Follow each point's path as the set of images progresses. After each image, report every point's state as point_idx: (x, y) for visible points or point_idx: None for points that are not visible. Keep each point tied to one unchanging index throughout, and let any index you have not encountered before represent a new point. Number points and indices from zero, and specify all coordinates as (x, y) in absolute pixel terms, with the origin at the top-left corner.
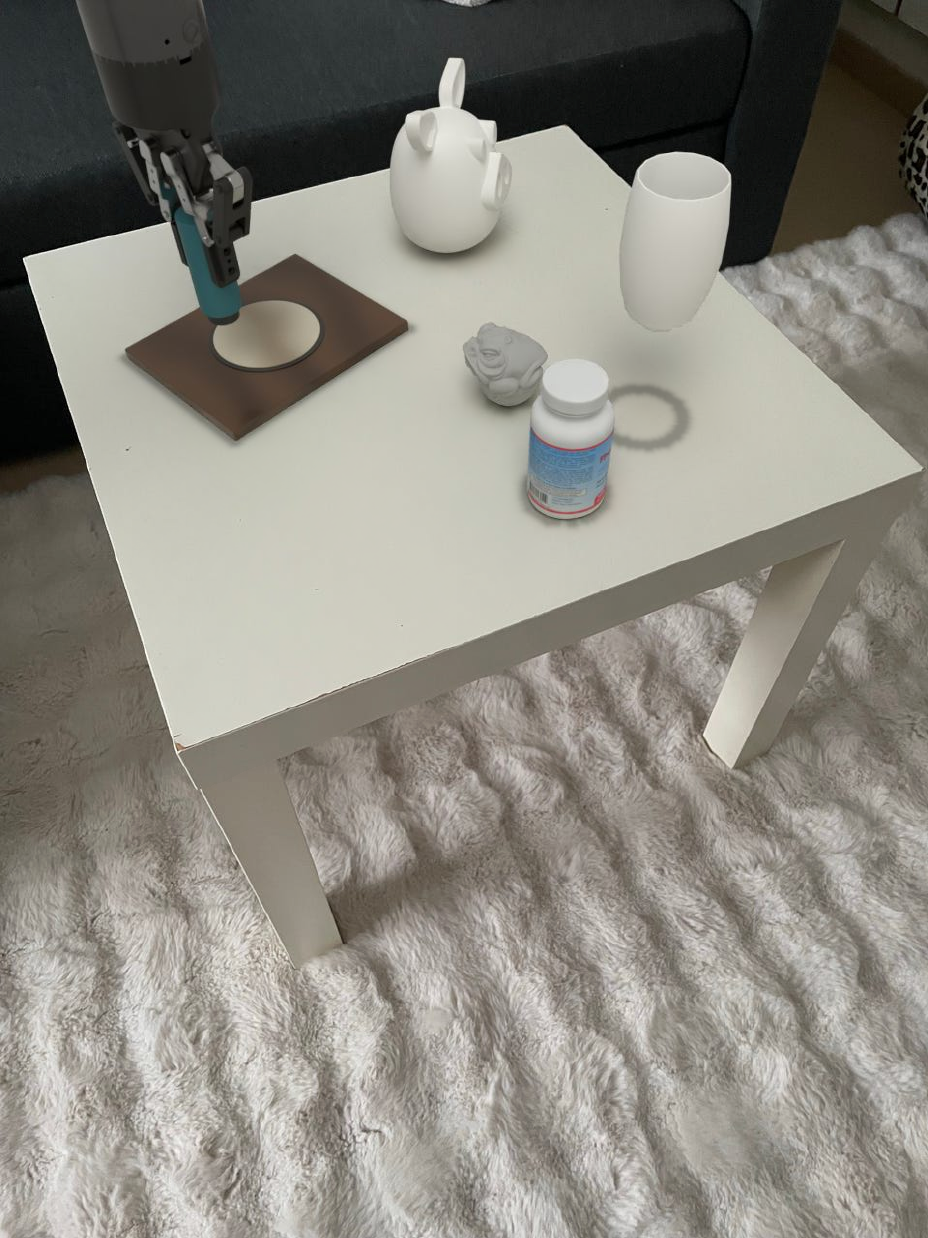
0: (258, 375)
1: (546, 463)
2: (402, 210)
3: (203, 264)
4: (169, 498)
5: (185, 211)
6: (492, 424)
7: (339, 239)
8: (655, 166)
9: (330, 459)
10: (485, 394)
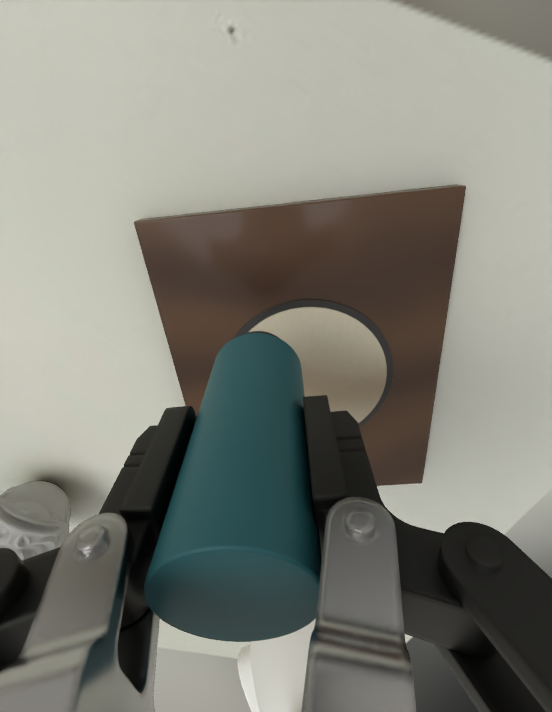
0: (234, 324)
1: None
2: None
3: (195, 436)
4: (57, 26)
5: (69, 664)
6: (18, 460)
7: (409, 518)
8: None
9: (36, 304)
10: (37, 484)
